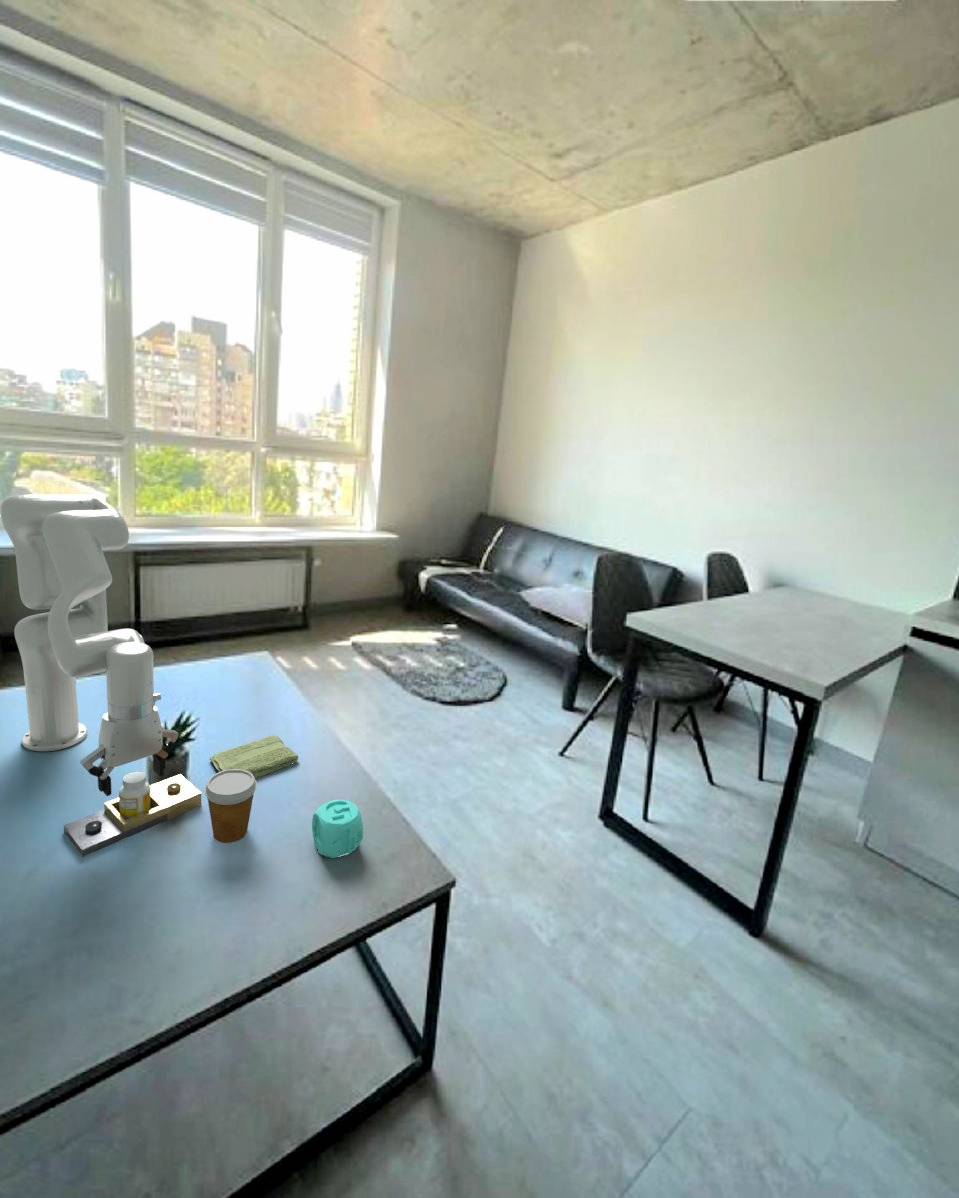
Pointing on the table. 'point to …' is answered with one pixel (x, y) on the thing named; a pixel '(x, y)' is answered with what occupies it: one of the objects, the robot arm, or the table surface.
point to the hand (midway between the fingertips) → (133, 782)
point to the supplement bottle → (134, 795)
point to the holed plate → (112, 827)
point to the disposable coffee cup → (230, 803)
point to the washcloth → (256, 756)
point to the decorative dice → (337, 828)
